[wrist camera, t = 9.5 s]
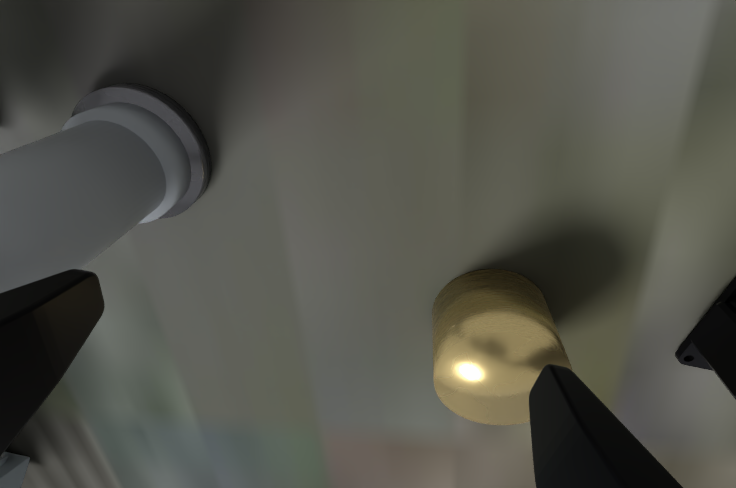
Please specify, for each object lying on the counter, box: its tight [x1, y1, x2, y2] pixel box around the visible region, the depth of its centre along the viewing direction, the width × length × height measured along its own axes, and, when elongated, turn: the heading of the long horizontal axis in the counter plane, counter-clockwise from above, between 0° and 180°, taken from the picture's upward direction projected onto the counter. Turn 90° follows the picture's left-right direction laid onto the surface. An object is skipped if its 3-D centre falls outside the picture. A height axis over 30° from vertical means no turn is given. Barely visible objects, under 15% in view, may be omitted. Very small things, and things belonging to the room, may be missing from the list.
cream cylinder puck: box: [432, 269, 572, 425], centre depth 22 cm, size 6×6×5 cm
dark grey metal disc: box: [71, 83, 211, 218], centre depth 21 cm, size 7×7×1 cm
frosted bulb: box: [0, 102, 191, 293], centre depth 15 cm, size 5×5×13 cm
